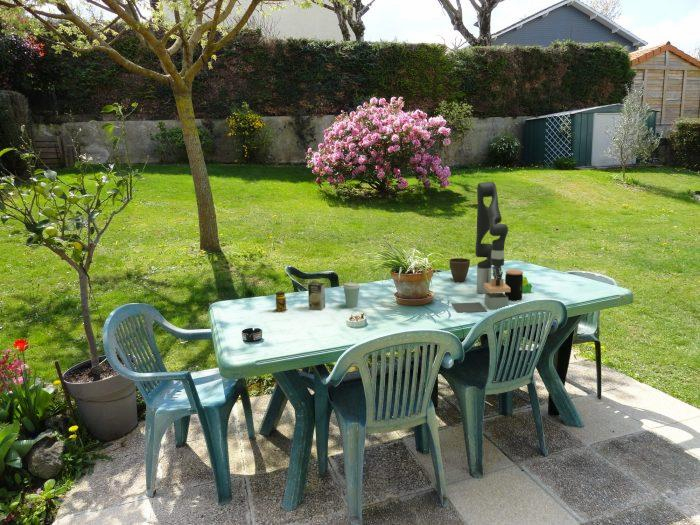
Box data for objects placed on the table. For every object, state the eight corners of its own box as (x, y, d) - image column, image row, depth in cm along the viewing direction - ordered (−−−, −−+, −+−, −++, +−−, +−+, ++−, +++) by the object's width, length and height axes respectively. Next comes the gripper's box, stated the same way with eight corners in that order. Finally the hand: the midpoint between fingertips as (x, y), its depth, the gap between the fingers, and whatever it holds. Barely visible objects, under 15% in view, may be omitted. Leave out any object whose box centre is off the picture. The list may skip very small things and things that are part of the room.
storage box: (484, 303, 312) (485, 293, 310) (502, 303, 312) (502, 292, 310) (489, 309, 301) (489, 298, 299) (507, 308, 301) (508, 297, 299)
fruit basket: (529, 290, 338) (530, 274, 336) (532, 294, 330) (533, 277, 327) (512, 290, 339) (512, 274, 337) (515, 294, 331) (515, 277, 328)
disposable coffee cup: (352, 302, 324) (351, 280, 321) (364, 305, 316) (363, 282, 313) (340, 306, 316) (339, 283, 313) (352, 309, 309) (351, 286, 306)
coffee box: (308, 309, 313) (307, 284, 310) (312, 306, 319) (311, 281, 315) (322, 310, 310) (320, 285, 307) (325, 307, 316) (324, 282, 312)
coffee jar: (523, 301, 314) (524, 273, 310) (505, 301, 316) (506, 273, 312) (520, 296, 324) (522, 269, 320) (503, 296, 326) (504, 269, 322)
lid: (483, 287, 310) (483, 276, 309) (503, 286, 310) (504, 276, 309) (489, 292, 298) (489, 282, 297) (510, 292, 298) (510, 281, 297)
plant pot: (471, 283, 359) (472, 262, 356) (451, 284, 360) (451, 262, 356) (467, 278, 374) (467, 257, 371) (447, 279, 374) (447, 258, 371)
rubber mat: (451, 303, 314) (451, 303, 314) (479, 302, 314) (479, 302, 314) (457, 312, 297) (457, 312, 296) (487, 311, 297) (487, 311, 296)
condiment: (284, 312, 308) (282, 294, 305) (271, 312, 310) (270, 293, 308) (288, 309, 315) (287, 290, 312) (276, 308, 317) (275, 290, 315)
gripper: (488, 254, 307) (487, 282, 310) (494, 259, 293) (494, 288, 297) (500, 254, 307) (499, 281, 310) (507, 259, 293) (506, 287, 297)
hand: (496, 284), depth 304 cm, fingers closed on lid, 3 cm apart
